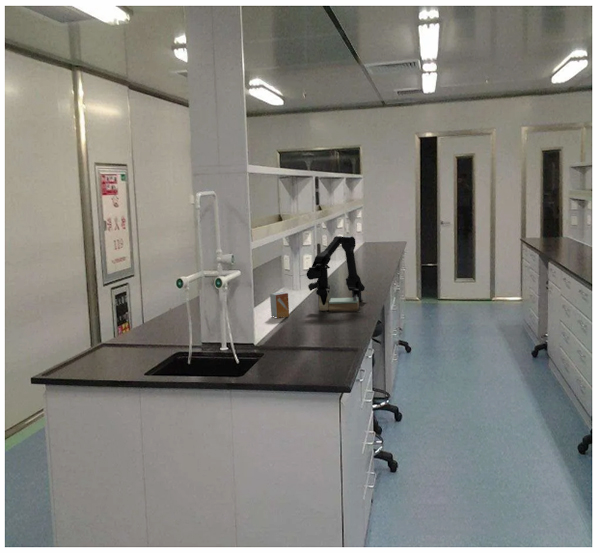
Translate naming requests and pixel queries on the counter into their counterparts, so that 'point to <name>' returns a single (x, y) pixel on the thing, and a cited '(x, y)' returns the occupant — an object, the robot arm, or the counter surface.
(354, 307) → the open wooden tray
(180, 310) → the counter surface
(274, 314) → the small box
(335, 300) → the lid
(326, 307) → the brown wooden block
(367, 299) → the counter surface
